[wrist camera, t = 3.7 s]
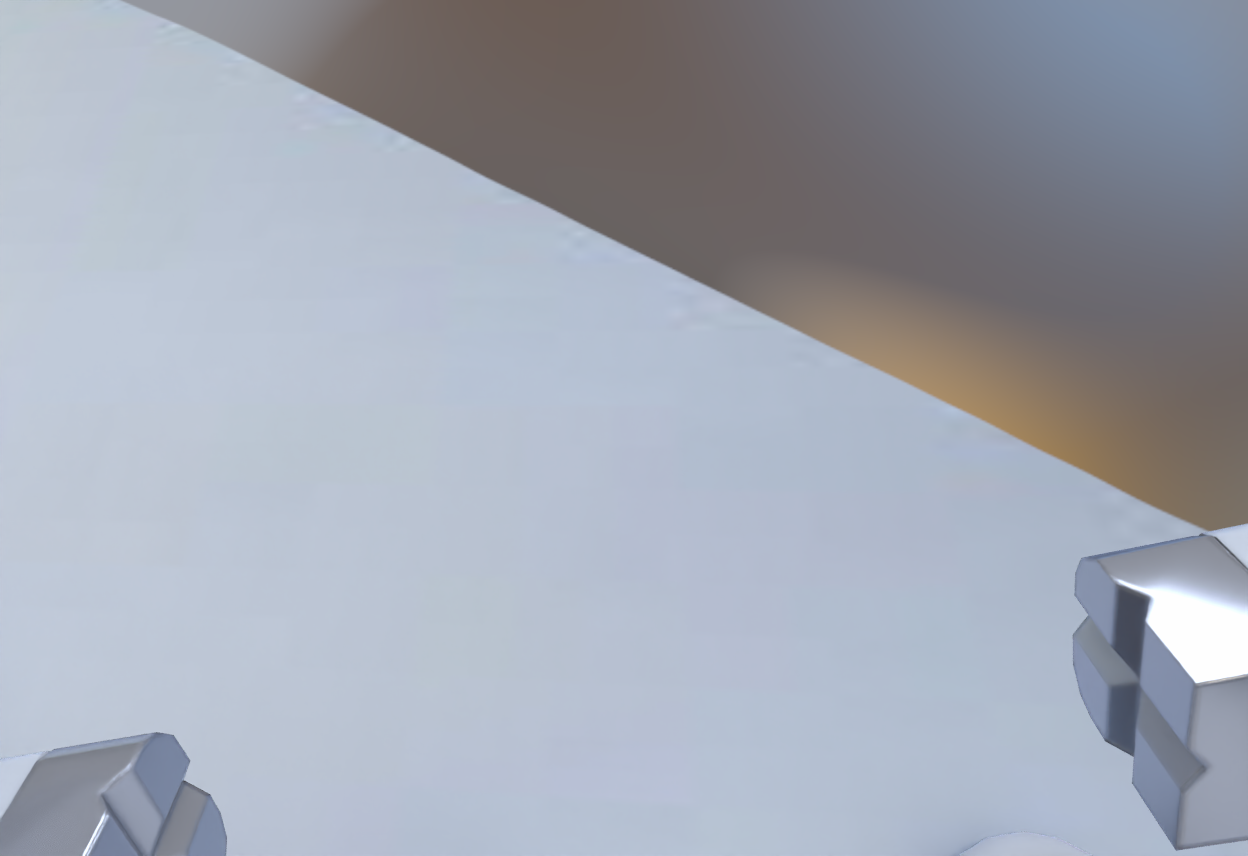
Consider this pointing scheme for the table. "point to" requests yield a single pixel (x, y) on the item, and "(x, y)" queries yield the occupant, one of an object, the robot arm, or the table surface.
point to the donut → (1024, 846)
